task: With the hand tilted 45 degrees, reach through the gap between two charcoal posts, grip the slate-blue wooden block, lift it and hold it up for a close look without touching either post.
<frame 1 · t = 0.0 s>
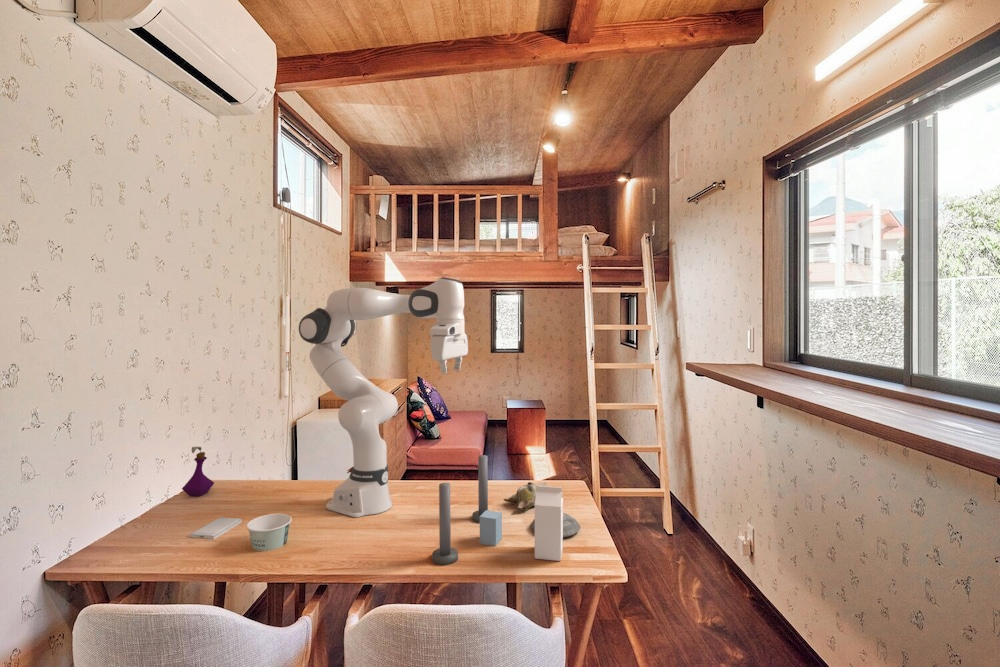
hand: (451, 371, 161), 48 cm above the table, fingers open, 8 cm apart
near post: (445, 558, 137), on the table
milk carton: (548, 554, 140), on the table
slate block: (490, 541, 148), on the table
far post: (483, 518, 163), on the table
ceramic sculpture: (528, 507, 174), on the table
food container: (269, 544, 146), on the table
hard drive: (216, 531, 156), on the table
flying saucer: (555, 531, 155), on the table
perfume bottle: (198, 494, 186), on the table
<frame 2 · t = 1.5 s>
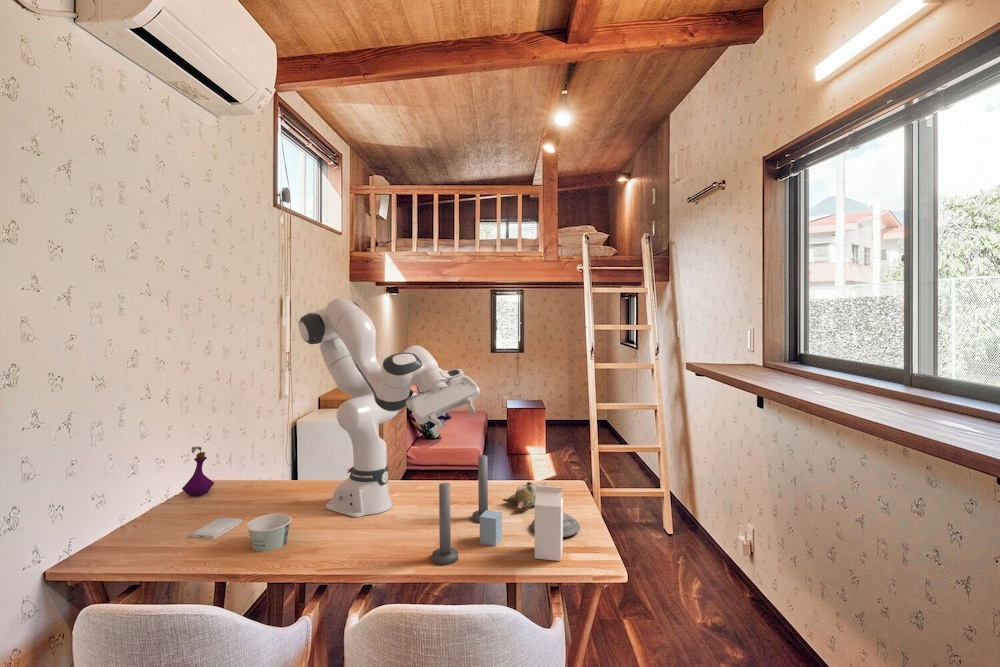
hand: (458, 419, 140), 37 cm above the table, fingers open, 8 cm apart
nothing on the table moved.
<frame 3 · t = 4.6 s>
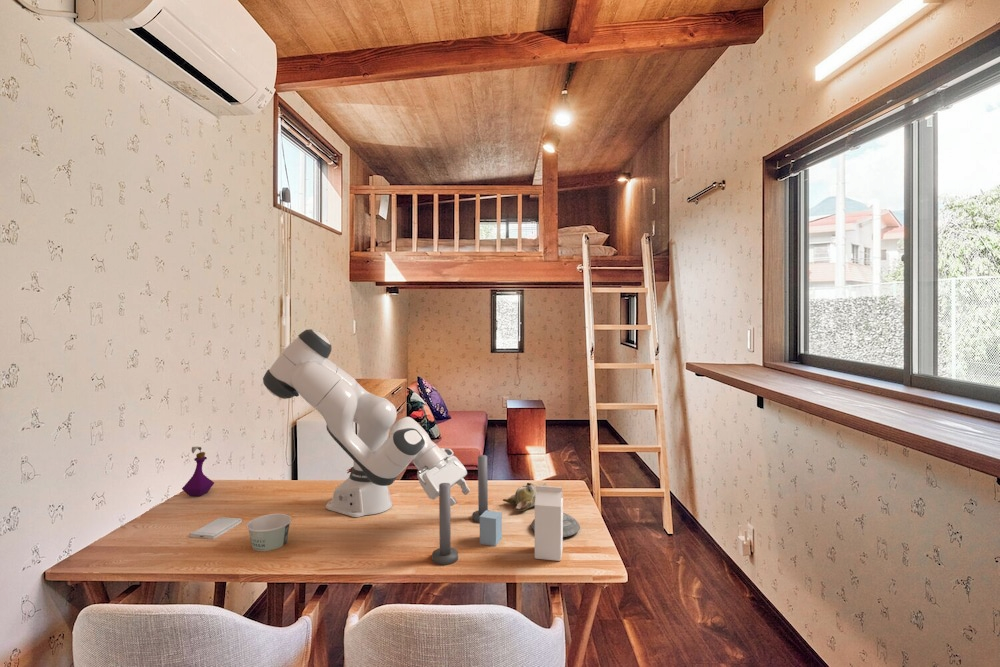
hand: (461, 498, 150), 12 cm above the table, fingers open, 8 cm apart
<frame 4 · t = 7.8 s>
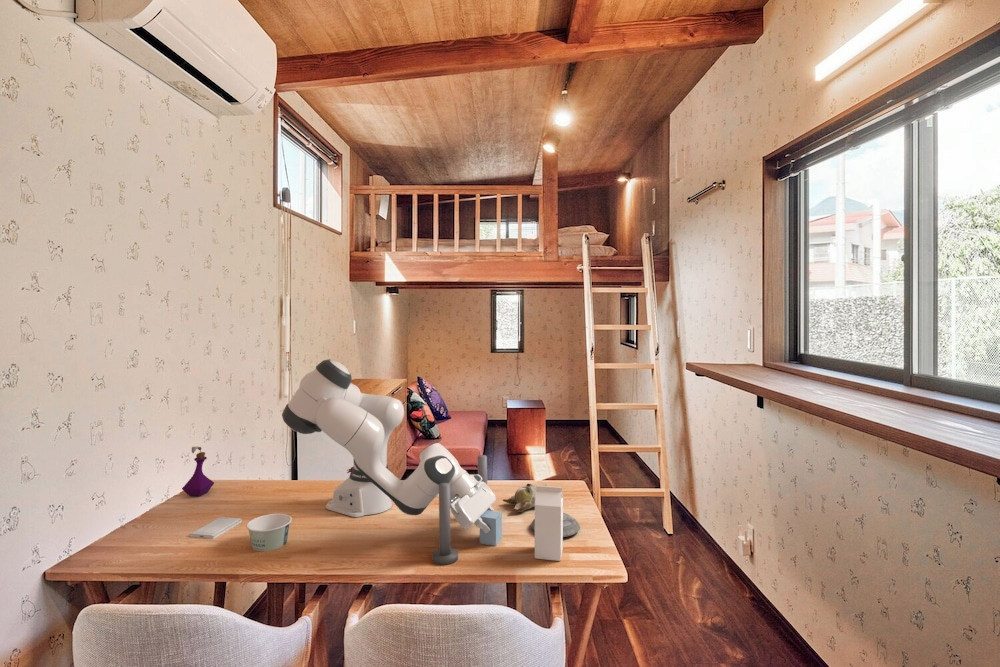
hand: (492, 526, 147), 4 cm above the table, fingers closed on slate block, 5 cm apart
slate block: (490, 541, 148), on the table, touching gripper
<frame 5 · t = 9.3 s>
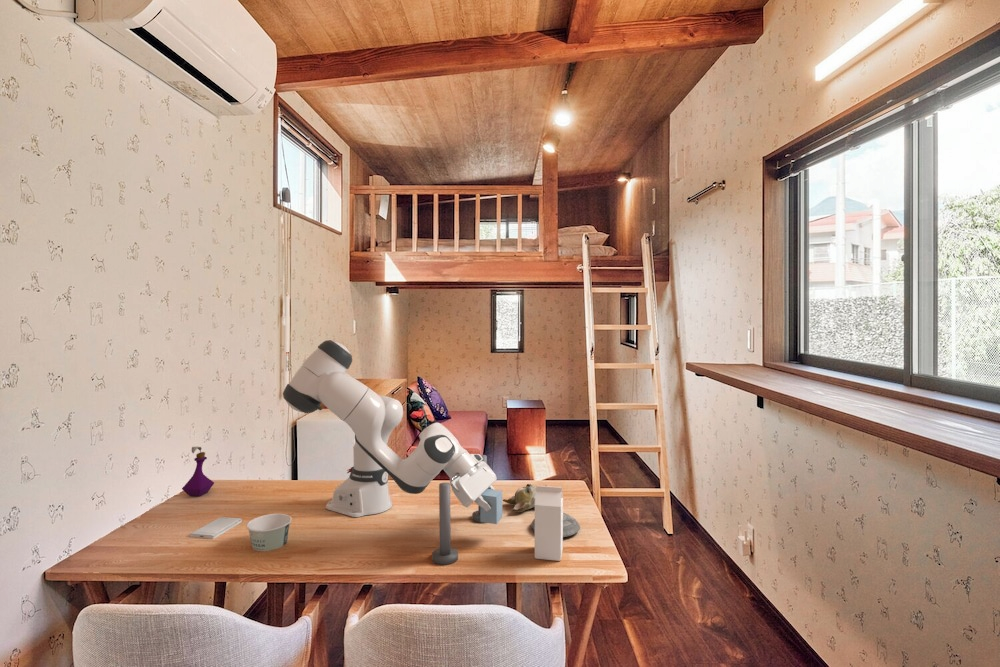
hand: (493, 505, 147), 11 cm above the table, fingers closed on slate block, 5 cm apart
slate block: (491, 519, 148), point 6 cm above the table, touching gripper
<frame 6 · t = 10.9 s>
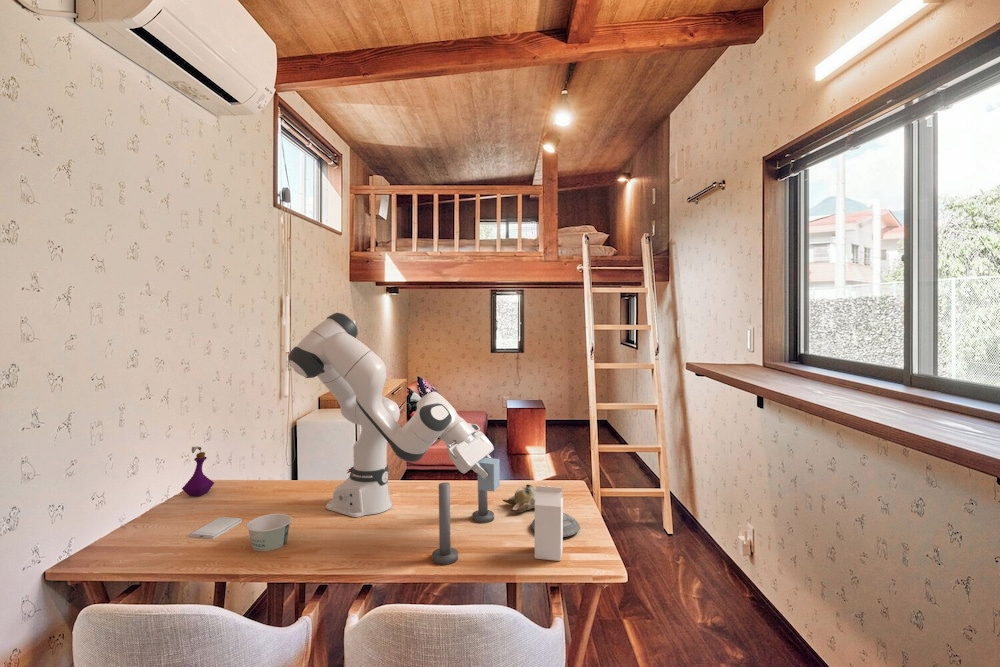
hand: (490, 473, 147), 20 cm above the table, fingers closed on slate block, 5 cm apart
slate block: (488, 487, 148), point 16 cm above the table, touching gripper
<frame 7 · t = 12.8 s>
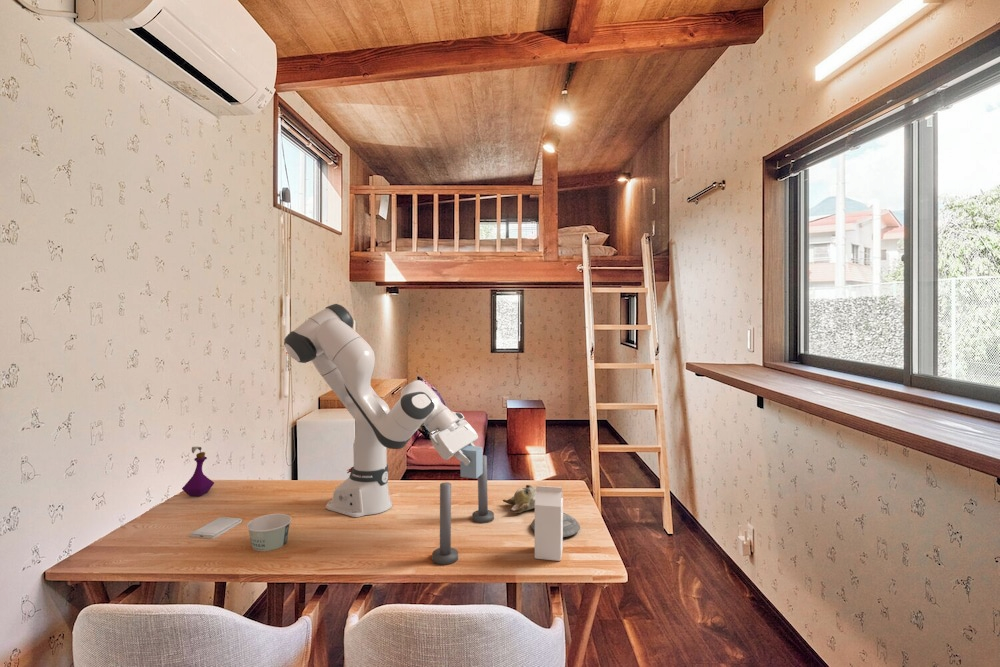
hand: (473, 460, 148), 23 cm above the table, fingers closed on slate block, 5 cm apart
slate block: (471, 475, 149), point 19 cm above the table, touching gripper
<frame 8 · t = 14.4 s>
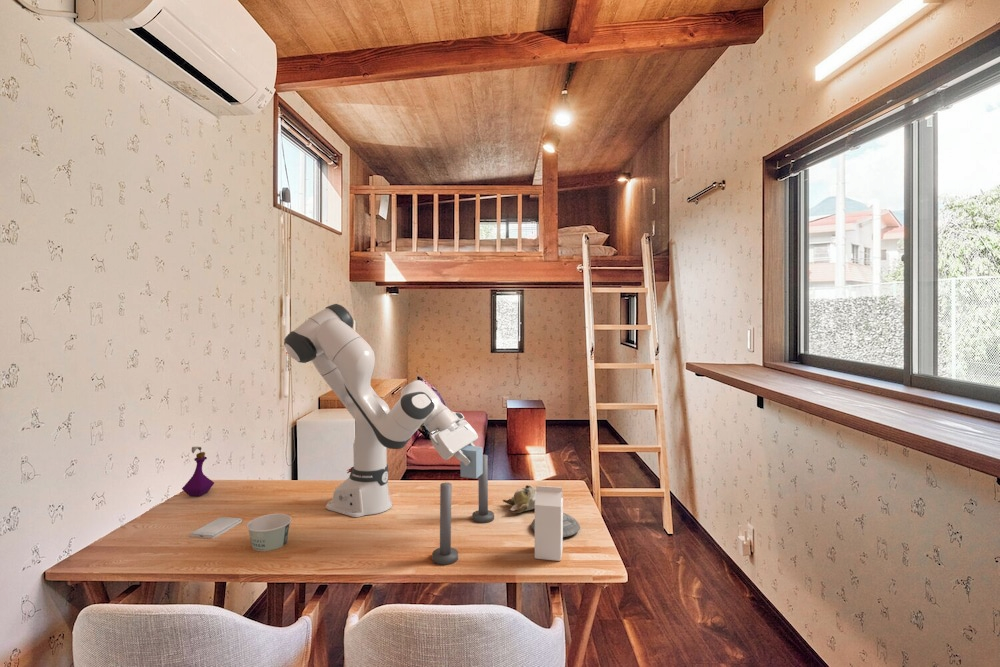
hand: (473, 460, 148), 23 cm above the table, fingers closed on slate block, 5 cm apart
slate block: (471, 475, 149), point 19 cm above the table, touching gripper
at the end: slate block point 19.0 cm above the table; near post moved 0.0 cm from its start; far post moved 0.1 cm from its start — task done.
